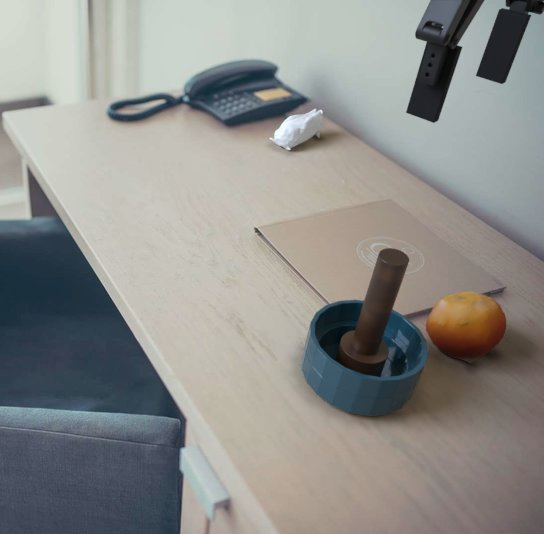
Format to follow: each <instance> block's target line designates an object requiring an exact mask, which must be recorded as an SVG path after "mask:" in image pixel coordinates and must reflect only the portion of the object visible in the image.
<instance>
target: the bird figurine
mask: <svg viewBox="0 0 544 534" xmlns="http://www.w3.org/2000/svg"><path fill="white" fill-rule="evenodd" d="M323 114H324V111H323V109H319V110H318V108H313V109H312V110H311V111H309V112H307V113H304V114H294V115H290V116H288V117H287V118H285V120H283V122H282V123H281V125H280V126H279V128H277V129H275V131H274V135H273V137H269V141H272V142H273V143H274V144H276V145H277V146H279V147H282V148H284V149H285V150H287V151H291V150H292V149H293V148H295V147H296V146H298V145H301V144H303V143H304V142H306V141H308V140H311V138H313V137H314V136H315V137H316V136H317V138H318V139H320V138H321V133H320V131H319V130H320V128H321V127H322V124H323V119H324V115H323Z"/></svg>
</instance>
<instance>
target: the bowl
mask: <svg viewBox="0 0 544 534" xmlns="http://www.w3.org/2000/svg"><path fill="white" fill-rule="evenodd" d="M363 303H364V300H360V299H347V300H338V301H335V302H332V303H327V304H325V305H324V306H322V307H321V308H320V309H319V310H318V311H316V312H315V314H314V315H313V317H312V319H311V320H310V323H309V327H308V331H307V334H306V338H305V343H304V348H303V350H302V351H303V352H302V356H301V371H302V375H303V376H304V379H305V382H306V383H307V385H308V386H309V387H310V388H311V390H313V392H314V393H315V394H316V395H317V396H318V397H319V398H321V399H322V400H324V401H325V402H326V403H328V404H330V405H331V406H333V407H335V408H337V409H340V410H341V411H345V412H348V413H349V414H355V415H361V416H366V417H369V416H370V417H374V416H386V415H390V414H392V413H395V412H397V411H401V409H403V408H404V407H405V406H406V405H407V404H408V403H409V402H410V401H412V398H413V395H414V393H415V390H416V388H417V386H418V383H419V381H420V379H421V377H422V373H423V371H424V369H425V367H426V364H427V361H428V358H429V354H430V352H429V347H428V341H427V339H426V337H425V336H424V334H423V333H422V331H421V329H420V328H419V327H418V326H417V325H416V324H415V323H414V322H412V321H411V320H410V319H409V318H408V317H407V316H405V315H403V314H402V313H400V312H399V311H397V310H394V308H393V309H392V312H391V315H390V318H389V320H388V323H387V326H386V329H385V332H384V335H383V338H382V340H384V342H385V343H386V344H387V346H388V349H389V354H388V357H387V360H386V362H385V365H384V368H383V371H382V373H381V376H380V377H377V376H371V375H364V374H361V373H358V372H356V371H353V370H351V369H348V368H345V367H344V366H342V365H341V364H339V363H338V362H336V361H335V358H336V354H337V351H338V348H339V344H340V341H341V338H342V336H343V335H344V334H345V333H347V332H349V331H353V330H355V329H356V326H357V322H358V319H359V316H360V313H361V309H362V306H363Z"/></svg>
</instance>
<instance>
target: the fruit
mask: <svg viewBox="0 0 544 534" xmlns="http://www.w3.org/2000/svg"><path fill="white" fill-rule="evenodd" d="M505 313H506V312H504V310H503V308H502V306H501V304H499V303H498V301H496V300H495V299H494V298H493V297H490V296H488V295H486V294H483V293H480V292H477V291H461V292H454V293H449V294H446V296H444V297H441V298H440V299H439V300H438V301H437V302H436V303H435V304H434V305H433V306H432V308H431V311H430V313H429V315H428V317H427V319H426V322H425V330H426V331H425V332H426V333H427V335H428V336H429V337H428V338H430V340H431V342H432V344H433V345H434V346H435V347H436V348H437V350H439V351H441V352H443V353H444V354H445V355H447V356H449V357H451V358H454V359H458V360H463V361H466V362H467V363H469V364H470V365H472V363H473V362H474V361H476V360H477V359H479V358H481V357H482V356H484V355H486V354H489V353H491V354H493V351H492V350H494V349H495V348H496V347H497V346H498V345H499V344H500V342H501V341H502V339H503V338H504V336H505V334H506V330H507V318H506V317H507V316H506V314H505Z"/></svg>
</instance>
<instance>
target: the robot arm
mask: <svg viewBox="0 0 544 534" xmlns="http://www.w3.org/2000/svg"><path fill="white" fill-rule="evenodd" d="M484 2H485V0H430V1H429V3H428V5H427V7H426V9H425V10H424V13H423V15H422V17H421V18H420V21H419V22H418V25H417V27H416V30H415V33H414V37H415V39H416V40H419V41H423V42H426V43H425V47H424V50H423V54H422V57H421V60H420V64H419V67H418V69H417V74H416V76H415V77H416V78H415V81H414V84H413V88H412V91H411V93H410V94H411V95H410V97H409V100H408V105H407V108H406V111H405V113H406V114H409V115H411V116H414V117H417V118H419V119H422V120H425V121H427V122H430V123H433V124H435V123H437V122H438V121H439V120H440V116H441V113H442V111H443V108H444V104H445V101H446V98H447V95H448V92H449V90H450V86H451V83H452V81H453V77H454V74H455V71H456V67H457V65H458V61H459V59H460V55H461V53H462V50H463V46H461V45H458V44H459V43H460V41H461V40H462V38H463V36H464V35H465V33H466V32H467V30H468V28H469V27H470V25H471V23H473V20H474V19H475V17H476V15H477V13H478V12H479V10H480V9H481V8H482V5H483V4H484ZM530 13H531V14H530ZM543 13H544V0H505V8H503V7H502V8H500V9H498V12H497V14H496V17H495V20H494V23H493V26H492V29H491V31H490V34H489V36H488V41H487V43H486V46H485V49H484V50H483V54H482V56H481V60H480V62H479V65H478V68H477V71H476V74H475V77H478V78H481V79H484V80H487V81H490V82H494V83H497V84H501V85H503V84H505V83H506V82H507V79H508V77H509V74H510V72H511V68H512V66H513V63H514V61H515V58H516V56H517V54H518V51H519V48H520V46H521V43H522V41H523V39H524V35H525V32H526V30H527V27H528V26H529V23H530V20H531V17H532V14H535V15H542V14H543Z"/></svg>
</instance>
